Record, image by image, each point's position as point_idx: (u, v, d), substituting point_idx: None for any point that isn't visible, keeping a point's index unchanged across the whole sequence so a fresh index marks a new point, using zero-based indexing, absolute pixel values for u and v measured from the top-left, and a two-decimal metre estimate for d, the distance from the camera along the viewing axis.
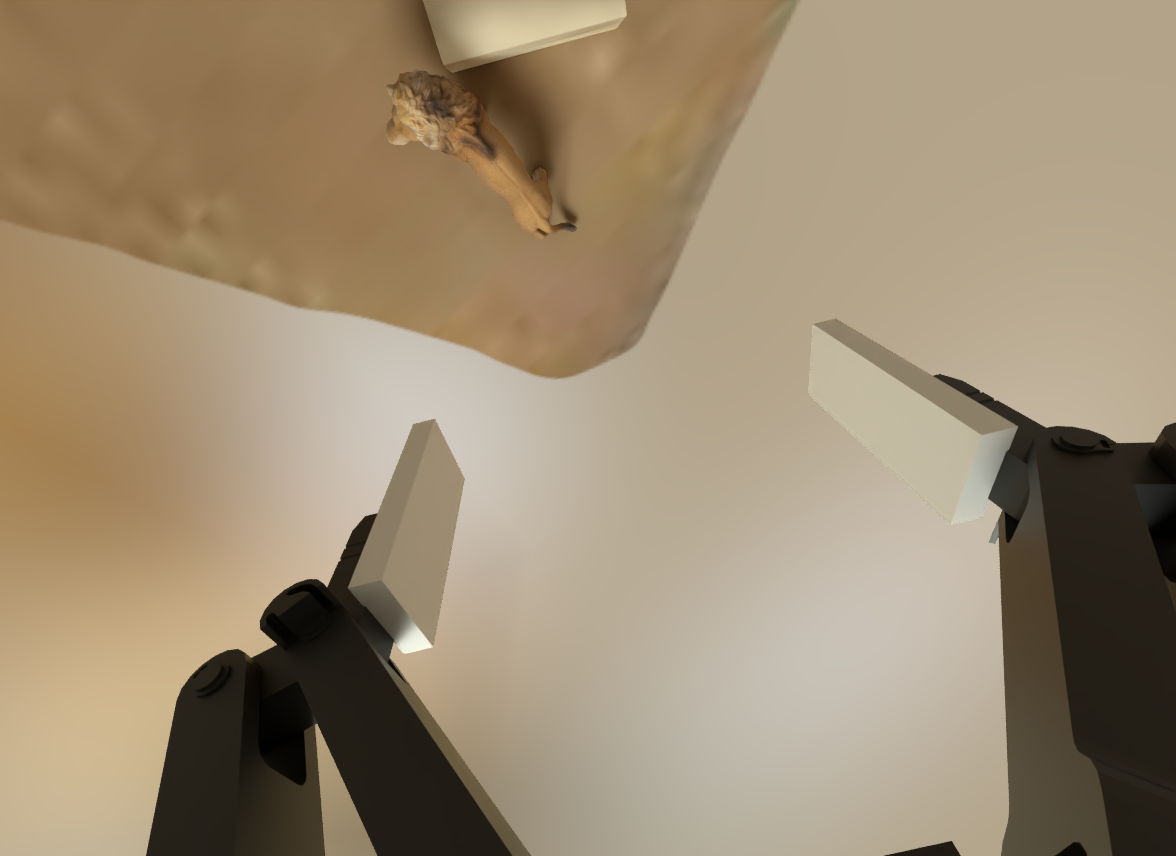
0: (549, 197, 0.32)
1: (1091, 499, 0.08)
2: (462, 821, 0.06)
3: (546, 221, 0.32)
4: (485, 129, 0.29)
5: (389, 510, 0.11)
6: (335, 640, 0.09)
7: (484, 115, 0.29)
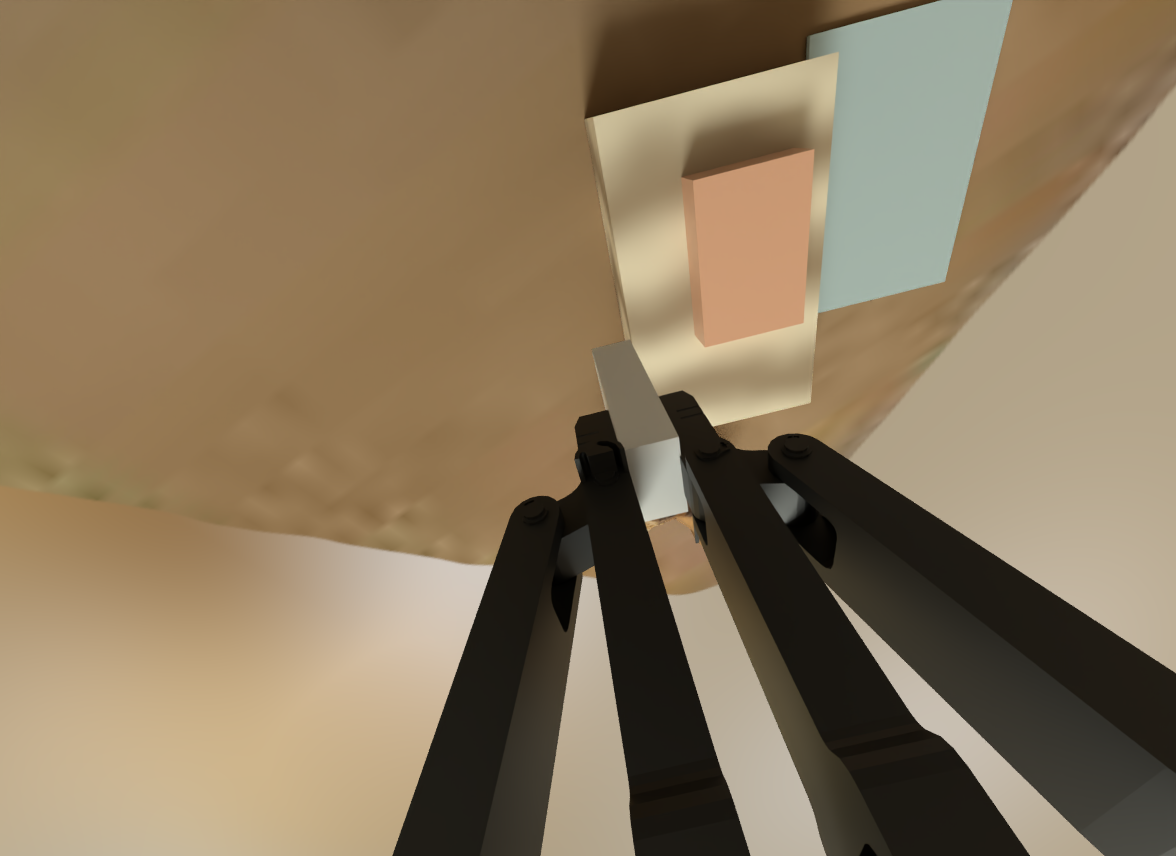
0: None
1: (736, 495, 0.09)
2: (680, 694, 0.07)
3: None
4: None
5: (618, 403, 0.13)
6: (617, 495, 0.10)
7: None
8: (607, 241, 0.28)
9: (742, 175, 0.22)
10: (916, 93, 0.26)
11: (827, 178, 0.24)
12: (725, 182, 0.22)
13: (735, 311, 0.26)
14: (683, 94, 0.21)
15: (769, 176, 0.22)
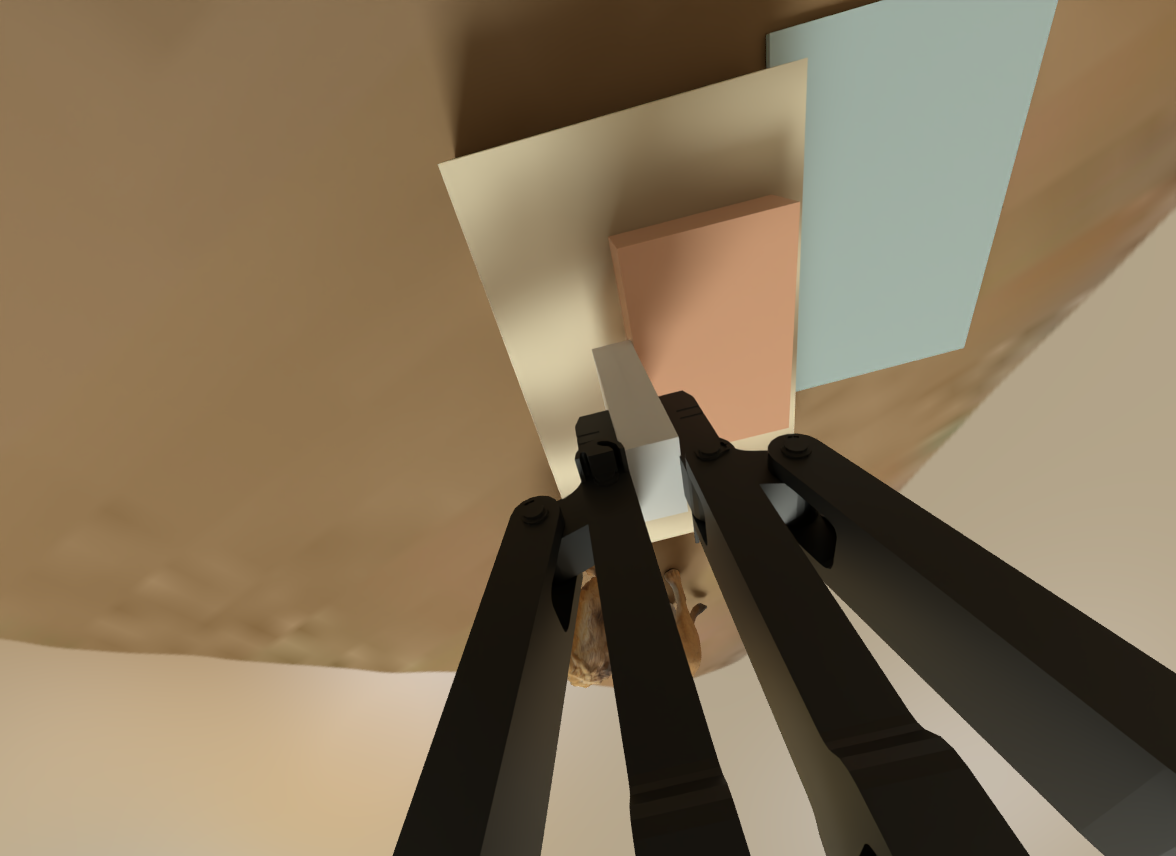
0: (699, 647, 0.30)
1: (736, 495, 0.09)
2: (680, 694, 0.07)
3: (696, 670, 0.30)
4: None
5: (618, 403, 0.13)
6: (618, 495, 0.10)
7: None
8: None
9: (692, 240, 0.14)
10: (925, 111, 0.18)
11: (799, 237, 0.17)
12: (667, 250, 0.15)
13: None
14: (572, 127, 0.14)
15: (733, 241, 0.15)
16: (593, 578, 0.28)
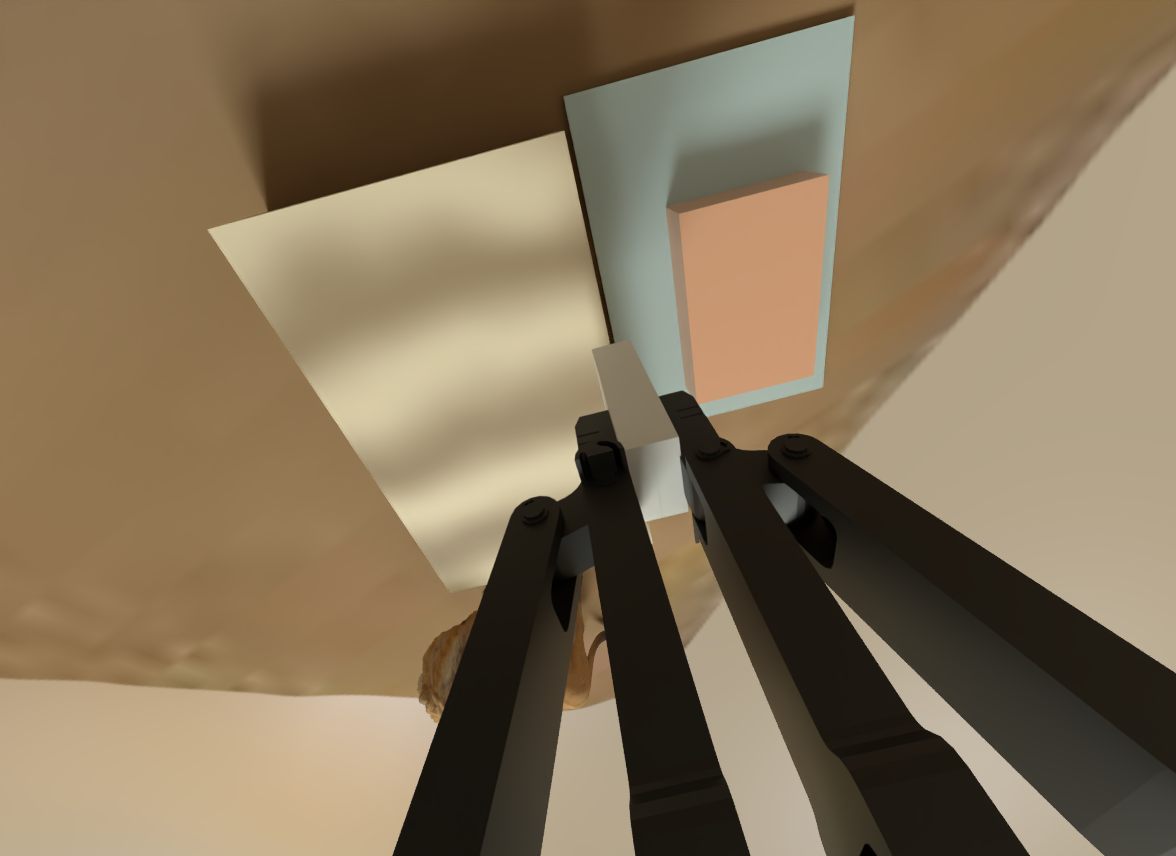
0: (587, 678, 0.30)
1: (736, 495, 0.09)
2: (680, 694, 0.07)
3: (585, 700, 0.30)
4: None
5: (618, 403, 0.13)
6: (617, 495, 0.10)
7: None
8: None
9: None
10: (737, 168, 0.19)
11: (597, 295, 0.17)
12: None
13: None
14: (338, 195, 0.14)
15: None
16: (474, 612, 0.28)
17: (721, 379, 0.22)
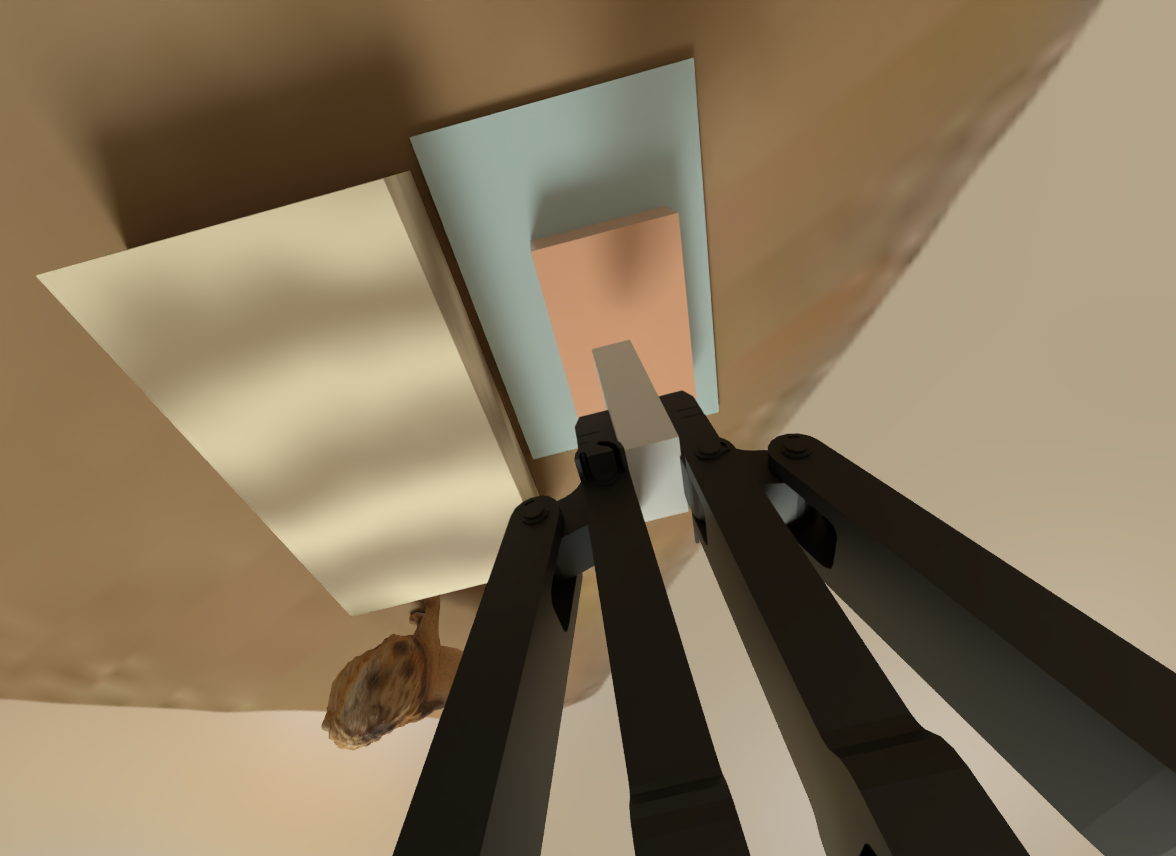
0: None
1: (736, 495, 0.09)
2: (680, 694, 0.07)
3: None
4: (433, 691, 0.27)
5: (618, 403, 0.13)
6: (617, 495, 0.10)
7: (431, 672, 0.27)
8: None
9: None
10: (597, 203, 0.19)
11: (447, 332, 0.17)
12: None
13: None
14: (164, 241, 0.15)
15: None
16: (390, 636, 0.28)
17: (602, 408, 0.22)
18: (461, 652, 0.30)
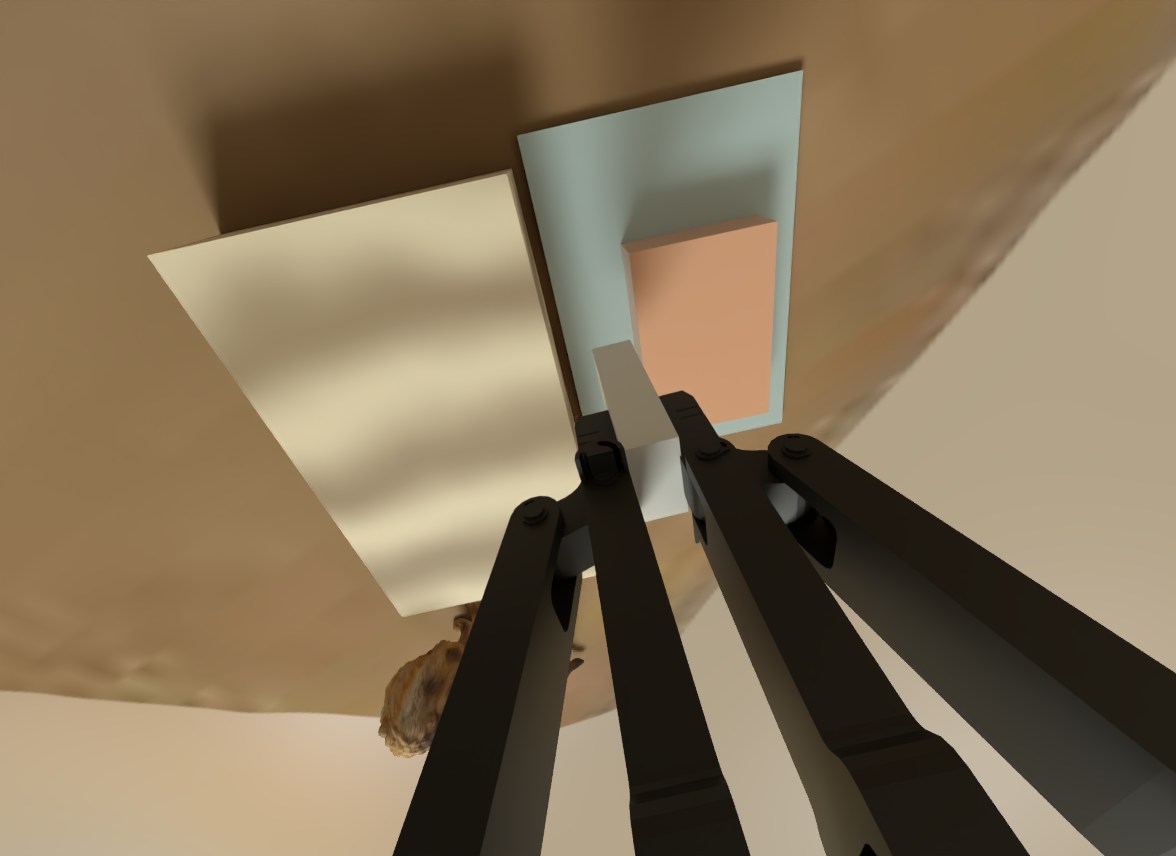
0: None
1: (736, 495, 0.09)
2: (680, 694, 0.07)
3: None
4: None
5: (618, 403, 0.13)
6: (618, 495, 0.10)
7: None
8: None
9: None
10: (690, 209, 0.19)
11: (544, 330, 0.17)
12: None
13: None
14: (280, 227, 0.14)
15: None
16: (441, 642, 0.28)
17: None
18: None
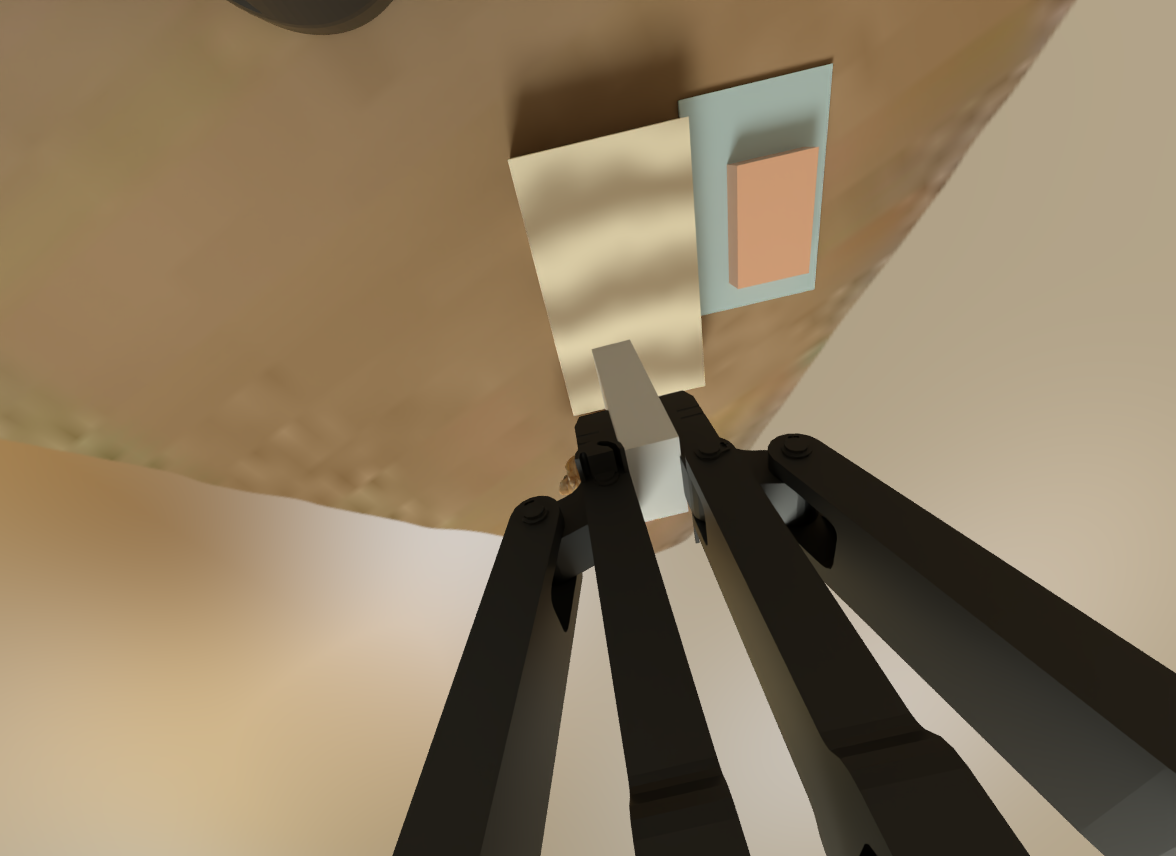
0: None
1: (736, 495, 0.09)
2: (680, 694, 0.07)
3: None
4: None
5: (618, 403, 0.13)
6: (617, 495, 0.10)
7: None
8: None
9: None
10: (767, 143, 0.33)
11: (693, 207, 0.32)
12: None
13: None
14: (574, 144, 0.29)
15: None
16: None
17: (753, 272, 0.36)
18: None
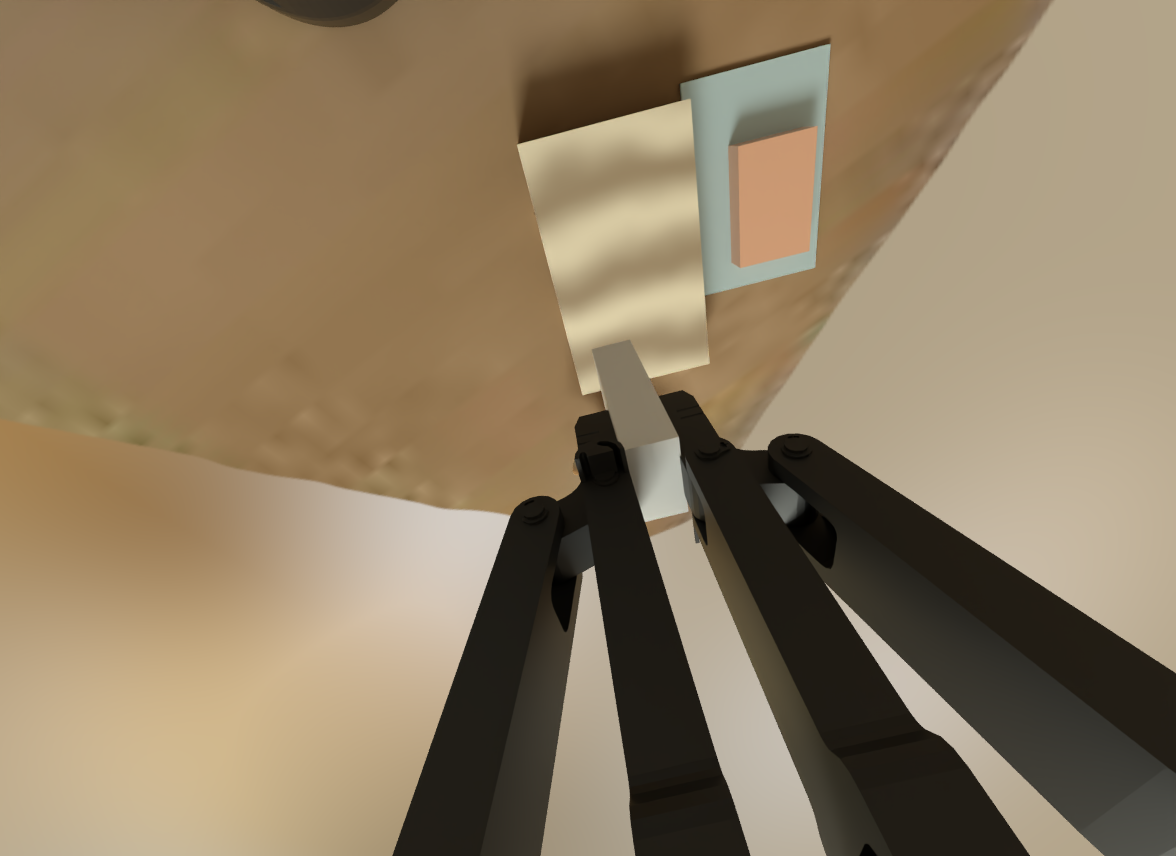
0: None
1: (736, 495, 0.09)
2: (680, 694, 0.07)
3: None
4: None
5: (618, 403, 0.13)
6: (618, 495, 0.10)
7: None
8: None
9: None
10: (767, 124, 0.34)
11: (696, 187, 0.33)
12: None
13: None
14: (581, 128, 0.30)
15: None
16: None
17: (755, 251, 0.37)
18: None
